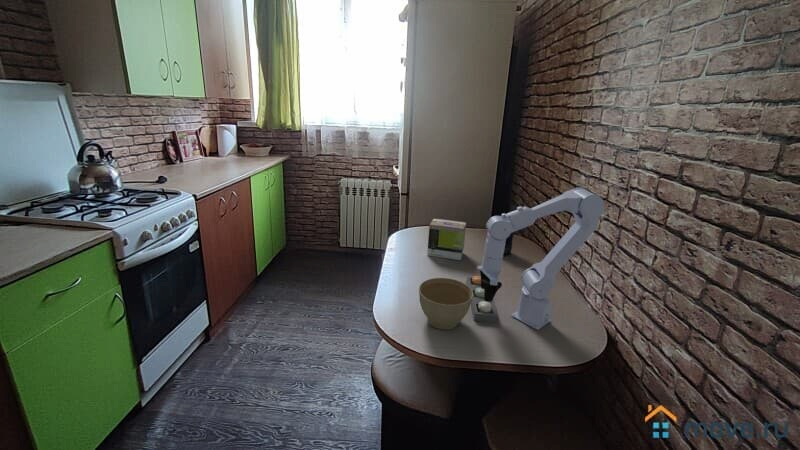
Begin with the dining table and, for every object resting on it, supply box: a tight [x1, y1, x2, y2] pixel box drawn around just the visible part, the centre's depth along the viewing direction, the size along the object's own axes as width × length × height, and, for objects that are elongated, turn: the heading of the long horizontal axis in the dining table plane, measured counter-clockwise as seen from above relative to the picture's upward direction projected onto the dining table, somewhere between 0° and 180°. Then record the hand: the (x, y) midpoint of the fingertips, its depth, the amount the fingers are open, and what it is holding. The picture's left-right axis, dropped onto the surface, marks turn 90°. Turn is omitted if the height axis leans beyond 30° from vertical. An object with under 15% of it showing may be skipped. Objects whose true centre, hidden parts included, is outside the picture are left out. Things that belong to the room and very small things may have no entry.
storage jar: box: [503, 231, 516, 258], centre depth 164 cm, size 10×10×15 cm
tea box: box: [426, 218, 467, 261], centre depth 158 cm, size 15×10×15 cm, turn 74°
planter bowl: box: [418, 277, 473, 330], centre depth 110 cm, size 16×16×11 cm
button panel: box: [465, 276, 499, 323], centre depth 124 cm, size 25×7×2 cm, turn 176°
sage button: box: [475, 288, 484, 298], centre depth 124 cm, size 4×4×2 cm
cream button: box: [478, 301, 492, 313], centre depth 115 cm, size 4×4×2 cm
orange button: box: [471, 275, 481, 285], centre depth 132 cm, size 4×4×2 cm
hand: (486, 294), depth 114 cm, fingers open, 7 cm apart
